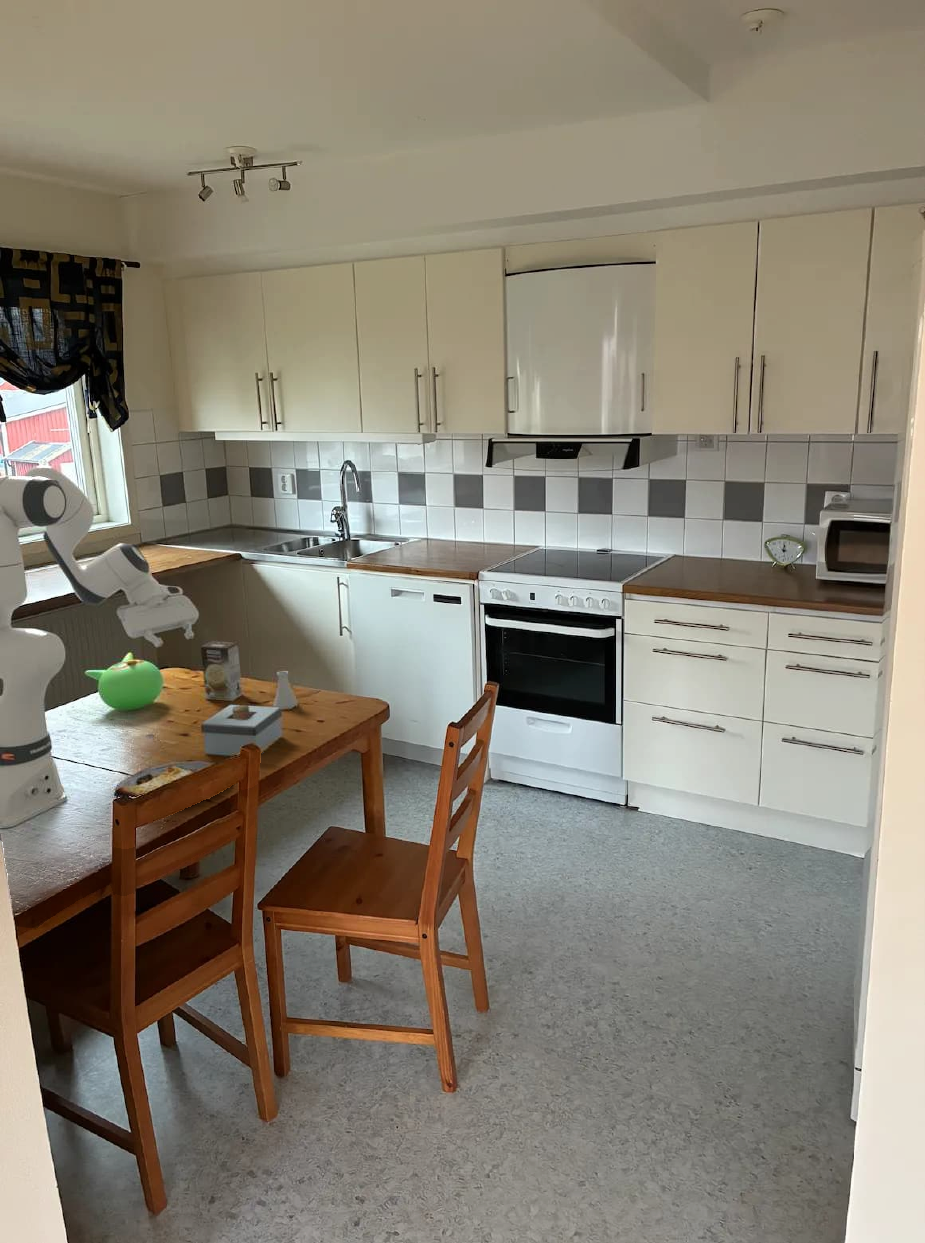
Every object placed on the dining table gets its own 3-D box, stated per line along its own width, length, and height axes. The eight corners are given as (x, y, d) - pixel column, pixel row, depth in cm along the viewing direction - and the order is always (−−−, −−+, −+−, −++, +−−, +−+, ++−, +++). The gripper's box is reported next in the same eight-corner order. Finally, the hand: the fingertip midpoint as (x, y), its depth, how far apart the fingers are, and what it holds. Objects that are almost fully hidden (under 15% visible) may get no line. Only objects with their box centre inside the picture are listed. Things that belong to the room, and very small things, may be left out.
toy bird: (126, 721, 258) (119, 670, 255) (86, 712, 267) (80, 663, 264) (177, 702, 273) (171, 653, 270) (138, 694, 282) (132, 647, 278)
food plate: (167, 821, 196) (166, 805, 195) (92, 802, 207) (90, 787, 206) (250, 780, 217) (249, 766, 216) (177, 765, 228) (176, 751, 228)
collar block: (257, 757, 229) (254, 726, 227) (204, 754, 233) (200, 723, 231) (283, 736, 242) (281, 707, 240) (232, 733, 246) (229, 704, 244)
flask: (292, 711, 262) (290, 676, 260) (268, 710, 264) (265, 675, 261) (302, 702, 269) (299, 669, 267) (278, 701, 270) (275, 668, 268)
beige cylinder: (247, 748, 235) (244, 710, 233) (233, 747, 236) (229, 710, 234) (255, 743, 239) (251, 705, 236) (240, 742, 240) (237, 704, 237)
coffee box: (204, 699, 275) (198, 646, 271) (216, 692, 281) (211, 640, 277) (232, 701, 272) (226, 647, 268) (243, 694, 278) (238, 642, 274)
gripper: (117, 600, 236) (144, 642, 232) (185, 586, 252) (212, 626, 248) (109, 615, 240) (136, 657, 236) (177, 600, 256) (203, 640, 252)
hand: (175, 641), depth 242 cm, fingers open, 8 cm apart
